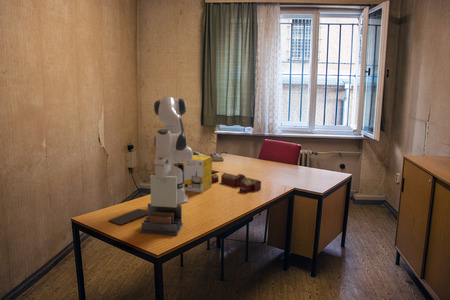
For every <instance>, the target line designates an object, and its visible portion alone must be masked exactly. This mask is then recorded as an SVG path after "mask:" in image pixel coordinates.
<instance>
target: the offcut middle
mask: <svg viewBox="0 0 450 300" xmlns="http://www.w3.org/2000/svg"><path fill="white" fill-rule="evenodd" d="M150 216H157V217H171V221H173V222H174V213H162V212H151V213H150Z"/></svg>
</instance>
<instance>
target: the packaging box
mask: <svg viewBox="0 0 450 300" xmlns="http://www.w3.org/2000/svg"><path fill="white" fill-rule="evenodd" d="M212 171H213V157H212V156H207V155H206V156H205V155H197V154H193V158H192V159H191V161H188V162H183V187H184V189H185V191H188V192H194V193H199V194H202V193H203V194H204V193H205V192H207V191H208V190H210V189H211V188H212V184H213V183H212V175H213V174H212Z"/></svg>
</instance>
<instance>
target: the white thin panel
mask: <svg viewBox="0 0 450 300" xmlns="http://www.w3.org/2000/svg"><path fill="white" fill-rule="evenodd" d="M164 179H165V182H164V183H161V179H158V178H156V175H153V174H151V175H150V204H151V206H160V207H177V205H178V204H177V177H174V176H165V177H164Z"/></svg>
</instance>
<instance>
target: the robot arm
mask: <svg viewBox="0 0 450 300" xmlns="http://www.w3.org/2000/svg"><path fill="white" fill-rule="evenodd" d="M187 109H188V105H187V101H186V100H185V99H184V98H173V96H168V95H167V96H164V97H162V98H161V99H158V100H156V101H154V104H153V111H154V113H155V115H157V116H158V119H159V120H160V121H161V122H162V124H164V129H163V128H162V129H158V130H157V131H156V134H155V136H154V138H153V139H154V141H153V143H154V148H155V158H154V161H153V165H154V171H155V172H154V174H155V176H156V178H158V179H161V183H164V182H165V179H164V177H165V176H174V177H177V205H180V204H184V203H185V204H186V203H188V202H189V196H188V194H186V193H185V192H186V190H185V189H184V179H183V170H182V169H181V168H179V167H177V166H175V164H176V163H177V164H179V163H180V164H181V163H184V162H188V161H191V159H192V158H193V155H194V151H193V149H192V148H191V147H190V146H188V139H187V136H186V133H185V128H184V123H183V120H182V116H183V115H184V114H186V113H187Z"/></svg>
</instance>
